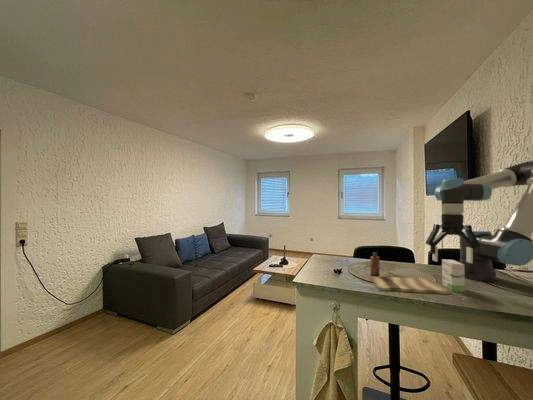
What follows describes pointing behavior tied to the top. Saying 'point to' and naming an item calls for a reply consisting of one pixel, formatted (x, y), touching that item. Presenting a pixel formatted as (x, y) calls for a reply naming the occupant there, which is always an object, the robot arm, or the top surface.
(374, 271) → the brown bottle
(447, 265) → the ink box
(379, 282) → the panel
